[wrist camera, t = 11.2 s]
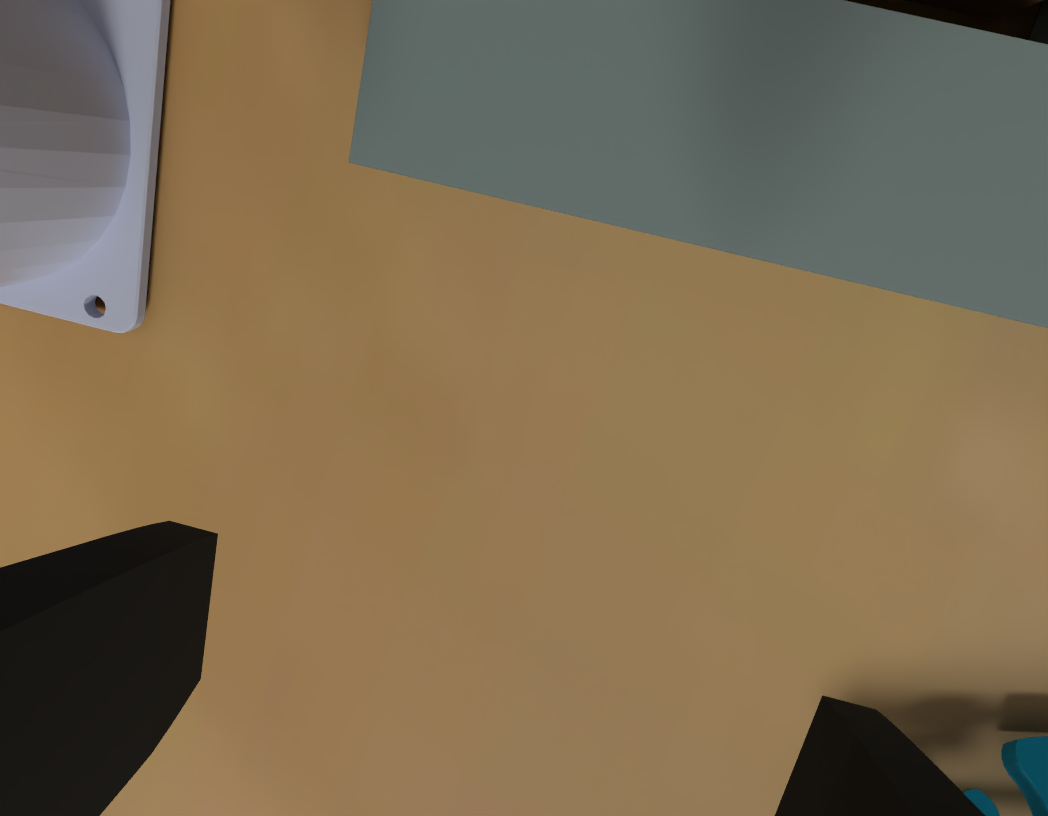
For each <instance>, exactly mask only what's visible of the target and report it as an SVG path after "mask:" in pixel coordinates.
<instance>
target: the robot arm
mask: <svg viewBox="0 0 1048 816" xmlns="http://www.w3.org/2000/svg"><path fill="white" fill-rule="evenodd" d="M169 11H170V0H0V303H1V304H5V305H9V306H13V307H17V308H21V309H25V310H29V311H32V312H36V313H40V314H44V315H48V316H52V317H56V318H60V319H64V320H68V321H72V322H76V323H80V324H84V325H88V326H91V327H95V328H99V329H103V330H107V331H111V332H115V333H125V332H128V331H131V330H134V329H136V328H138V327H139V326H140V325H141V324H142V323H143V320H144V316H145V308H146V296H147V284H148V271H149V259H150V247H151V234H152V222H153V209H154V197H155V185H156V172H157V160H158V148H159V135H160V123H161V110H162V98H163V86H164V73H165V61H166V48H167V36H168V24H169ZM97 296H98V297H100V298H101V299H102V300H103V302H104V303H105V307H106V311H105V314H102V313H100V312H99V311H98V309H97V308H96V304H95V300H96V297H97ZM217 536H218V534H217V533H213V532H209V531H206V530H202V529H198V528H194V527H191V526H187V525H183V524H179V523H176V522H172V521H166V522H161V523H156V524H151V525H147V526H143V527H139V528H135V529H131V530H127V531H124V532H120V533H117V534H113V535H110V536H106V537H103V538H99V539H96V540H93V541H89V542H86V543H82V544H79V545H76V546H72V547H69V548H66V549H62V550H59V551H55V552H52V553H49V554H45V555H42V556H38V557H35V558H32V559H28V560H25V561H22V562H18V563H15V564H11V565H8V566H5V567H1V568H0V816H100V815H101V813H102V812H103V811H104V810H105V809H106V807H107V806H108V805H109V804H110V803H111V801H112V800H113V799H114V798H115V797H116V796H117V794H118V793H119V792H120V791H121V790H122V788H123V787H124V786H125V785H126V784H127V783H128V781H129V780H130V779H131V778H132V777H133V775H134V774H135V773H136V772H137V771H138V769H139V768H140V767H141V766H142V765H143V763H144V762H145V761H146V760H147V758H148V757H149V756H150V755H151V754H152V752H153V751H154V749H155V748H156V746H157V745H158V743H159V742H160V740H161V739H162V738H163V736H164V735H165V733H166V732H167V730H168V729H169V727H170V726H171V724H172V723H173V721H174V720H175V718H176V717H177V715H178V714H179V712H180V711H181V709H182V707H183V706H184V704H185V703H186V701H187V700H188V698H189V696H190V695H191V693H192V692H193V690H194V689H195V687H196V685H197V684H198V682H199V681H200V679H201V672H202V663H203V655H204V646H205V638H206V629H207V621H208V612H209V604H210V596H211V587H212V579H213V570H214V562H215V553H216V545H217ZM775 816H985V815H984V814H983V813H982V811H981V810H980V809H979V808H978V807H977V806H976V805H975V804H974V803H973V802H972V801H971V800H970V799H969V798H968V797H967V796H966V795H965V794H964V793H963V792H962V791H961V790H960V789H959V788H958V787H957V786H956V785H955V784H954V783H953V782H952V781H951V780H950V779H949V778H948V777H947V776H946V775H945V774H944V773H943V772H942V771H941V770H940V769H939V768H938V767H937V766H936V765H935V764H934V763H933V762H932V761H931V760H930V759H929V758H928V757H927V756H926V755H925V754H924V753H923V752H922V751H921V750H920V749H919V748H918V747H917V746H916V745H915V744H914V743H913V742H912V741H911V740H910V739H909V738H907V737H906V736H905V735H904V734H903V733H902V732H901V731H900V730H899V729H898V728H897V727H896V726H895V725H894V724H892V723H891V722H890V721H889V720H888V719H887V718H886V717H884V716H883V715H882V714H881V713H880V712H878V711H877V710H875V709H871V708H867V707H864V706H860V705H856V704H853V703H849V702H845V701H841V700H838V699H834V698H830V697H826V696H822V698H821V701H820V703H819V706H818V708H817V711H816V713H815V716H814V718H813V721H812V723H811V726H810V728H809V731H808V733H807V736H806V738H805V741H804V743H803V746H802V748H801V751H800V753H799V756H798V759H797V761H796V764H795V766H794V769H793V771H792V774H791V776H790V779H789V781H788V784H787V786H786V789H785V791H784V794H783V796H782V799H781V801H780V804H779V806H778V809H777V811H776V814H775Z"/></svg>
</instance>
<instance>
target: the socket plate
mask: <svg viewBox="0 0 1048 816" xmlns="http://www.w3.org/2000/svg"><path fill="white" fill-rule="evenodd" d="M349 163H353V164H357V165H362V166H366V167H370V168H374V169H378V170H383V171H387V172H391V173H395V174H400V175H404V176H408V177H412V178H416V179H421V180H425V181H429V182H433V183H438V184H442V185H446V186H450V187H454V188H459V189H463V190H467V191H471V192H475V193H480V194H484V195H488V196H492V197H497V198H501V199H505V200H509V201H513V202H518V203H522V204H526V205H530V206H535V207H539V208H543V209H547V210H551V211H556V212H560V213H564V214H568V215H573V216H577V217H581V218H585V219H589V220H594V221H598V222H602V223H606V224H611V225H615V226H619V227H623V228H627V229H632V230H636V231H640V232H644V233H649V234H653V235H657V236H661V237H665V238H670V239H674V240H678V241H682V242H687V243H691V244H695V245H699V246H703V247H708V248H712V249H716V250H720V251H724V252H729V253H733V254H737V255H741V256H746V257H750V258H754V259H758V260H762V261H767V262H771V263H775V264H779V265H784V266H788V267H792V268H796V269H800V270H805V271H809V272H813V273H817V274H822V275H826V276H830V277H834V278H838V279H843V280H847V281H851V282H855V283H860V284H864V285H868V286H872V287H876V288H881V289H885V290H889V291H893V292H898V293H902V294H906V295H910V296H914V297H919V298H923V299H927V300H931V301H936V302H940V303H944V304H948V305H952V306H957V307H961V308H965V309H969V310H973V311H978V312H982V313H986V314H990V315H995V316H999V317H1003V318H1007V319H1011V320H1016V321H1020V322H1024V323H1028V324H1033V325H1037V326H1041V327H1045V328H1048V0H1043V3H1042V6H1041V8H1040V11H1039V14H1038V16H1037V19H1036V22H1035V24H1034V27H1033V29H1032V32H1031V35H1030V37H1029V40H1025V39H1020V38H1015V37H1011V36H1006V35H1002V34H997V33H992V32H988V31H983V30H979V29H974V28H969V27H965V26H960V25H955V24H951V23H946V22H942V21H937V20H932V19H928V18H923V17H919V16H914V15H909V14H905V13H900V12H896V11H891V10H886V9H882V8H877V7H872V6H868V5H863V4H859V3H854V2H849V1H845V0H373V3H372V10H371V16H370V23H369V30H368V36H367V43H366V50H365V56H364V63H363V70H362V77H361V83H360V90H359V97H358V103H357V110H356V117H355V123H354V130H353V137H352V143H351V150H350V157H349Z"/></svg>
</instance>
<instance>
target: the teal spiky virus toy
mask: <svg viewBox="0 0 1048 816" xmlns="http://www.w3.org/2000/svg"><path fill="white" fill-rule="evenodd" d="M1002 761H1003V764H1004V767H1005V769H1006V771H1007V772H1008V774H1009V775H1010V777H1011V778H1012V779H1013V780H1014V781H1015V783H1016V784H1017V785H1018V787H1019V788H1020V790H1021V792H1022V793H1023V795H1024V796H1025V798H1026V800H1027V802H1028V805H1029V807H1030V809H1031V811H1032V815H1033V816H1048V737H1047V736H1045V737H1031V738H1025V739H1018V740H1015V741H1012V742H1008V743H1005V744H1003V747H1002ZM963 793H964V794H965V795H966V796H967V797H968V798H969V799H970V800H971V801H972V802H973V803H974V804H975V805H976V806H977V807H978V808H979V809H980V810H981V811H982V813H983V814H984V815H985V816H1000V815H999V812H998V810H997V808H996V806H995V805H994V803H993V802H992V801H991V799H990V798H989V797H988V796H986V795H985V794H984V793H983V792H981V791H980V790H978V789H972V790H967V791H963Z"/></svg>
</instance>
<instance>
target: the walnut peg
mask: <svg viewBox="0 0 1048 816" xmlns="http://www.w3.org/2000/svg"><path fill="white" fill-rule="evenodd" d="M907 1H912V2H916V3H920V4H924V5H929V6H933V7H937V8H942V9H946V10H950V11H955V12H959V13H963V14H968V15H972V16H976V17H981V18H985V19H989V20H993V21H997V20H999V19H1002V18H1004V17H1006V16H1009V15H1011V14H1013V13H1015V12H1018V11H1020V10H1022V9H1024V8H1027V7H1029V6H1031V5H1034V4H1036V3H1038V2H1040V1H1043V0H907Z"/></svg>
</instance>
